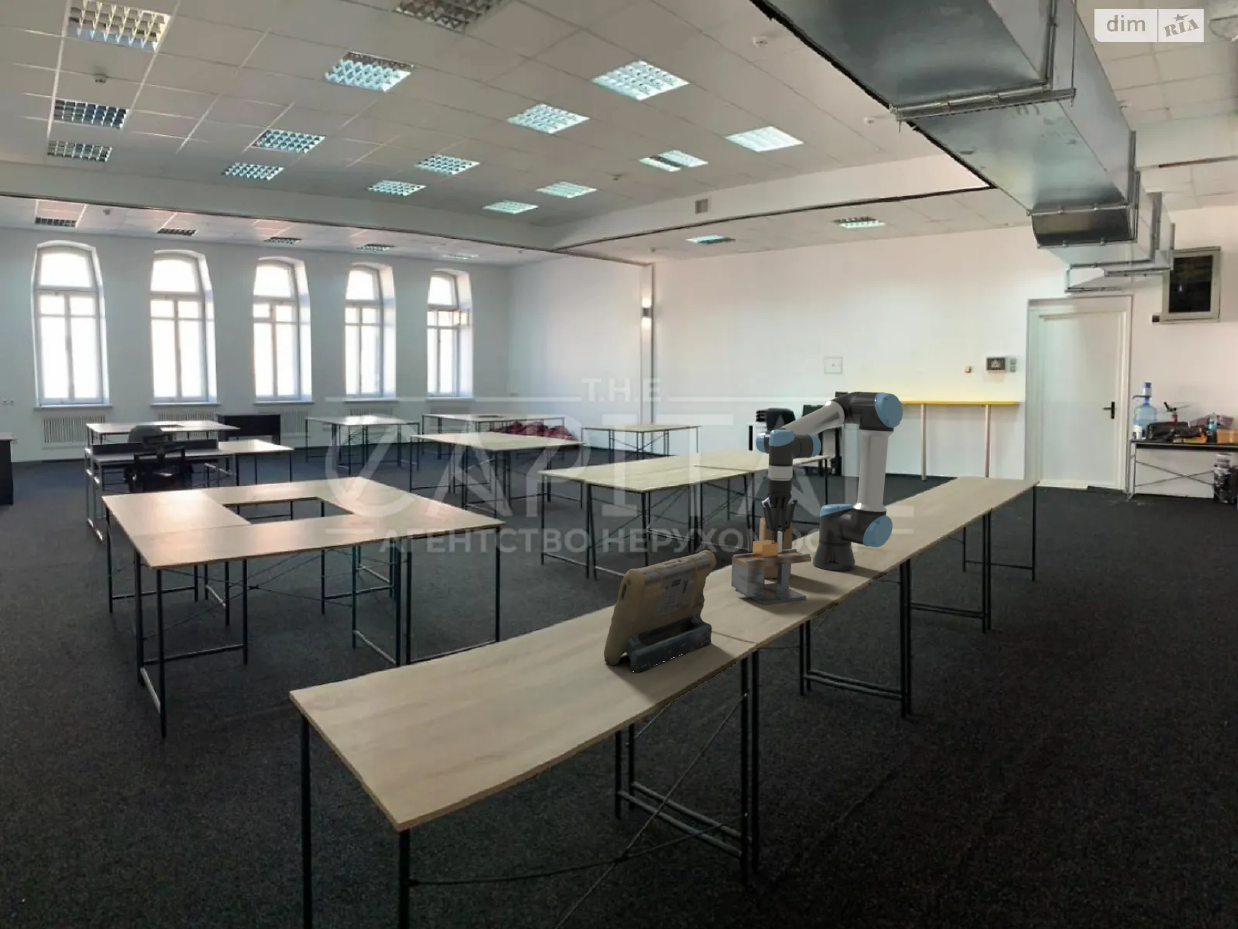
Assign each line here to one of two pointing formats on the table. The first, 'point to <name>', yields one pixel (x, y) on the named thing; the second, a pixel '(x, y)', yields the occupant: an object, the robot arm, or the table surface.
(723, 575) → the table surface
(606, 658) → the tablet
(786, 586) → the pivot stand
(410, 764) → the table surface
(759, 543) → the rider
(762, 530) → the wooden block
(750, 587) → the beam
